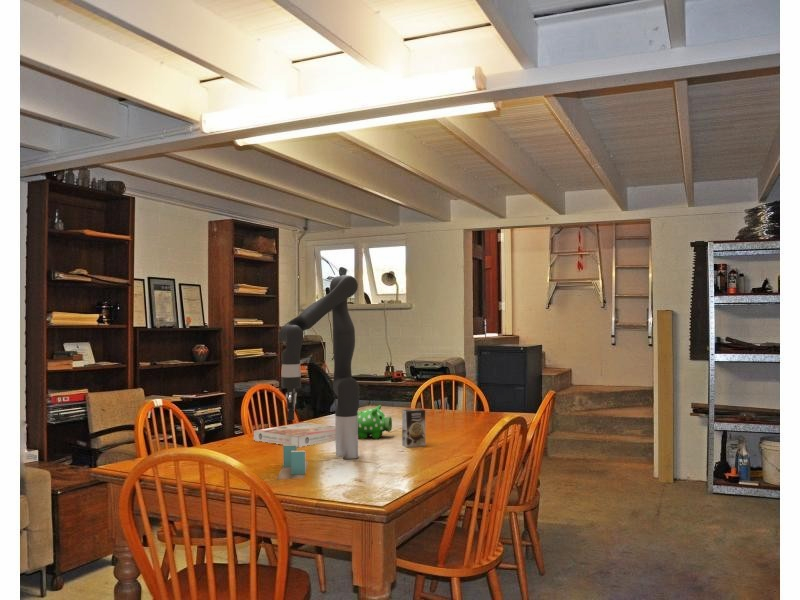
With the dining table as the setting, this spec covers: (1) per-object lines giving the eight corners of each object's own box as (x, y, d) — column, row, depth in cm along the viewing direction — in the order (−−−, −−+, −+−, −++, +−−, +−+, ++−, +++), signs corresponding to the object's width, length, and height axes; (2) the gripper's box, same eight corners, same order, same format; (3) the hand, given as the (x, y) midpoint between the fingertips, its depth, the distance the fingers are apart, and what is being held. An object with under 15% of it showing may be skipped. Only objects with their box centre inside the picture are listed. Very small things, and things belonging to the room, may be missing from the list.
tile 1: (297, 465, 259) (297, 444, 260) (296, 466, 257) (296, 445, 257) (284, 465, 259) (283, 444, 259) (283, 467, 257) (283, 445, 257)
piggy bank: (387, 440, 319) (387, 408, 319) (350, 439, 322) (350, 408, 322) (392, 435, 333) (392, 404, 333) (357, 434, 336) (356, 404, 336)
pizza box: (298, 436, 303) (253, 430, 324) (298, 448, 303) (253, 441, 323) (348, 427, 328) (303, 422, 348) (348, 438, 328) (303, 432, 348)
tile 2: (305, 472, 247) (305, 450, 247) (305, 473, 244) (304, 451, 245) (291, 472, 246) (291, 450, 247) (291, 474, 244) (290, 452, 244)
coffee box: (407, 447, 299) (406, 411, 300) (401, 445, 305) (401, 409, 306) (426, 446, 302) (425, 409, 303) (420, 443, 308) (419, 408, 309)
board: (308, 465, 265) (308, 461, 265) (303, 481, 238) (303, 478, 238) (284, 465, 265) (284, 462, 265) (276, 482, 237) (276, 479, 237)
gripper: (299, 376, 259) (299, 422, 259) (301, 374, 273) (302, 417, 272) (279, 377, 259) (280, 422, 258) (283, 374, 272) (283, 417, 271)
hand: (291, 419), depth 265 cm, fingers closed
